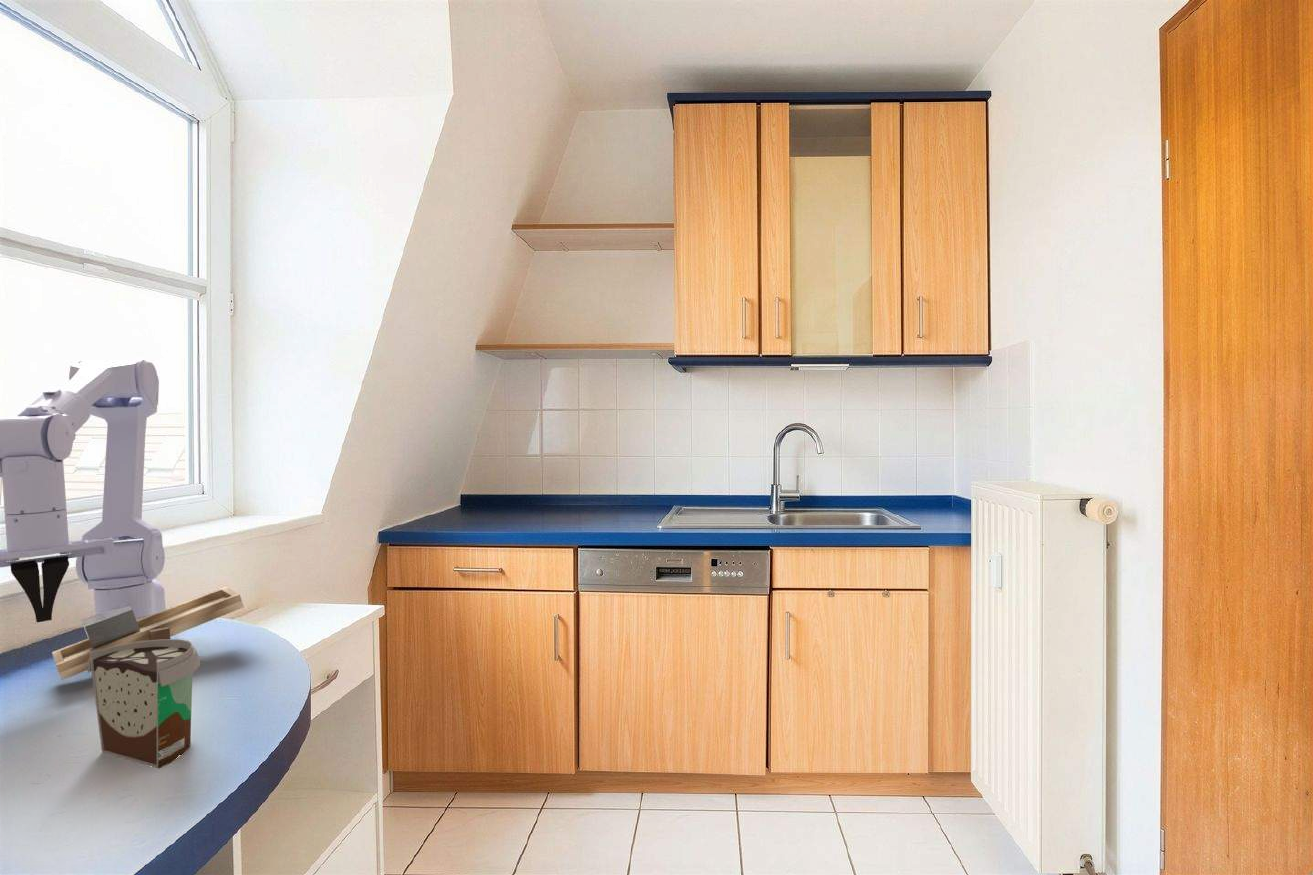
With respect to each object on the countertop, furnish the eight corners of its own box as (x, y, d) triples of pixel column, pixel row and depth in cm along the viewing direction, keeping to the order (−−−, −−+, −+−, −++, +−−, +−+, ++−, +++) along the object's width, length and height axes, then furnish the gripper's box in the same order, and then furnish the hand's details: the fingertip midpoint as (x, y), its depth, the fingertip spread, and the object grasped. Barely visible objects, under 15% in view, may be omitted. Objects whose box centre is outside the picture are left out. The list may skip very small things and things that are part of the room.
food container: (233, 741, 69) (226, 643, 68) (167, 771, 63) (160, 664, 63) (159, 724, 74) (153, 632, 74) (93, 750, 68) (86, 651, 68)
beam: (63, 683, 84) (55, 665, 83) (58, 669, 89) (52, 652, 89) (245, 610, 97) (239, 594, 97) (231, 601, 103) (226, 586, 102)
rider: (95, 655, 87) (84, 626, 86) (91, 647, 90) (81, 619, 90) (142, 637, 90) (132, 609, 89) (137, 630, 94) (127, 603, 93)
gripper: (-49, 522, 77) (-40, 641, 77) (114, 506, 87) (121, 611, 87) (-46, 517, 82) (-38, 629, 82) (107, 503, 92) (114, 603, 92)
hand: (43, 619), depth 85 cm, fingers closed
